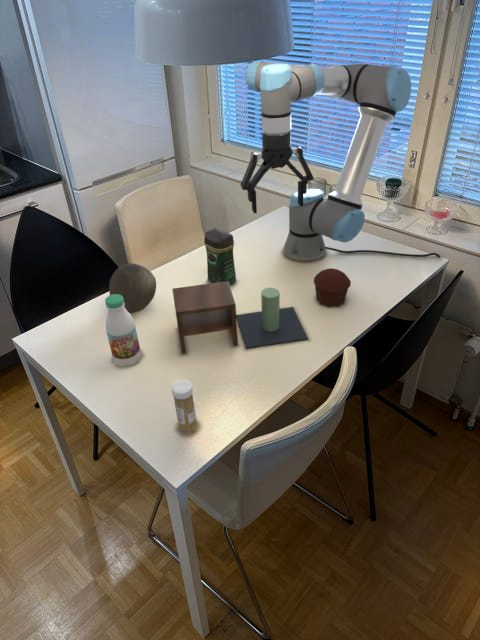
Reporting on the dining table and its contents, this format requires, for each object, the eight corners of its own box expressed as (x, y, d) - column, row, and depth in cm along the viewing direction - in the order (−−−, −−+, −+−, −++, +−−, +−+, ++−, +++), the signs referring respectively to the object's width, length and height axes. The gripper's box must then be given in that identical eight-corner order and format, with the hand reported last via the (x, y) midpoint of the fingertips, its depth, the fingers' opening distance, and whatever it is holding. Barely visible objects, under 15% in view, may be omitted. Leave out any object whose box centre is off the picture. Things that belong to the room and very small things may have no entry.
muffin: (356, 300, 156) (359, 273, 150) (332, 314, 150) (334, 286, 144) (328, 285, 163) (330, 259, 157) (304, 298, 158) (306, 271, 152)
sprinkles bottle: (200, 431, 115) (194, 389, 107) (181, 437, 114) (174, 395, 106) (194, 417, 118) (189, 376, 110) (176, 423, 117) (169, 381, 109)
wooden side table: (230, 321, 149) (228, 280, 141) (237, 345, 140) (235, 304, 131) (178, 328, 147) (172, 288, 139) (181, 354, 138) (175, 312, 129)
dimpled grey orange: (133, 327, 149) (124, 285, 140) (105, 310, 156) (95, 269, 148) (168, 306, 157) (161, 265, 148) (139, 291, 165) (131, 251, 156)
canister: (277, 320, 148) (277, 286, 141) (281, 330, 144) (281, 296, 137) (260, 322, 147) (259, 288, 140) (264, 332, 143) (263, 298, 136)
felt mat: (292, 308, 153) (292, 306, 153) (307, 339, 141) (308, 338, 140) (236, 316, 151) (235, 315, 151) (246, 349, 138) (246, 347, 138)
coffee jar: (240, 282, 167) (238, 232, 156) (222, 291, 163) (219, 241, 152) (221, 272, 173) (218, 223, 162) (204, 281, 169) (199, 231, 158)
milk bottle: (110, 355, 139) (94, 295, 127) (136, 345, 142) (123, 287, 130) (118, 370, 133) (103, 310, 121) (145, 360, 136) (133, 300, 124)
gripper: (317, 121, 132) (314, 196, 145) (226, 133, 129) (232, 208, 142) (327, 129, 126) (323, 206, 139) (232, 142, 123) (237, 220, 136)
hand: (277, 208), depth 140 cm, fingers open, 13 cm apart
